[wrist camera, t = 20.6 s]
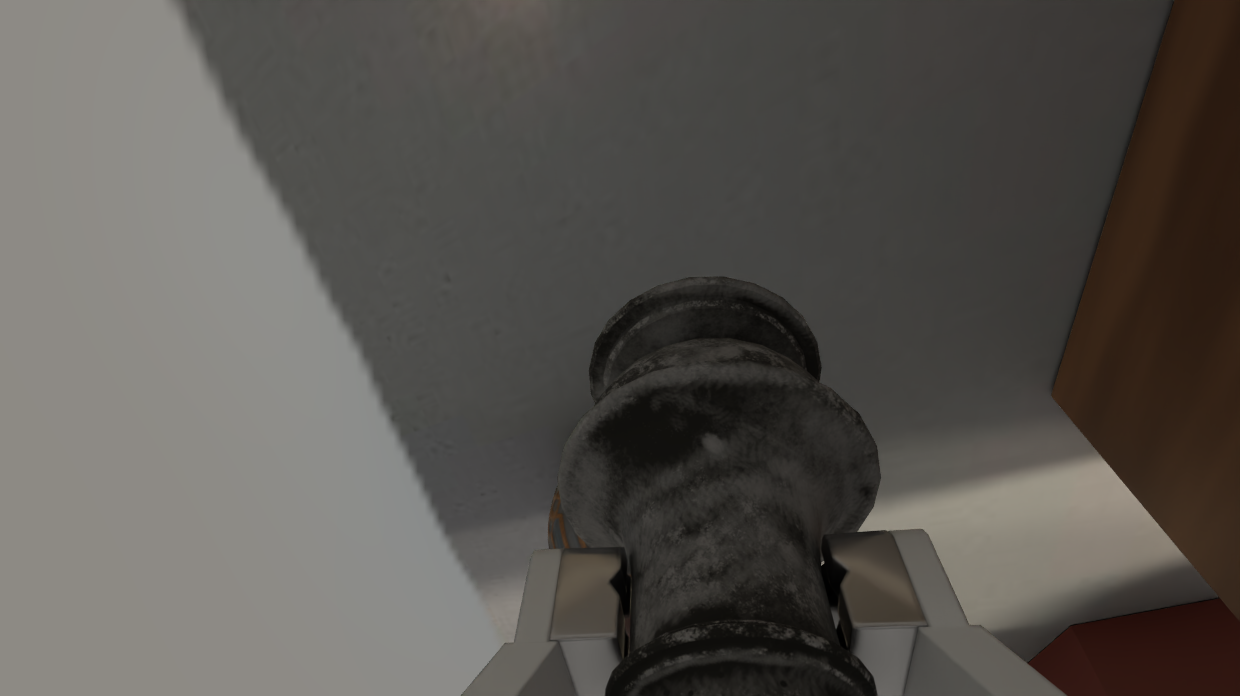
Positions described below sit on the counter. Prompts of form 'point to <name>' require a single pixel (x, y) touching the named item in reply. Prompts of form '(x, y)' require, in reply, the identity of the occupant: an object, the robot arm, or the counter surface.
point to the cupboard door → (1173, 301)
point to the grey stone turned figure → (720, 492)
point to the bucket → (1149, 654)
